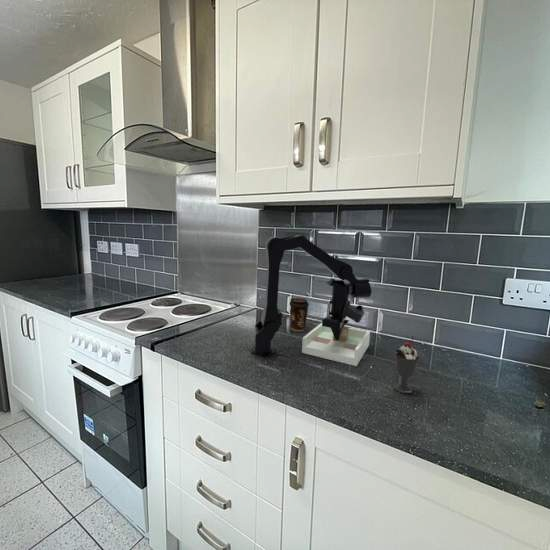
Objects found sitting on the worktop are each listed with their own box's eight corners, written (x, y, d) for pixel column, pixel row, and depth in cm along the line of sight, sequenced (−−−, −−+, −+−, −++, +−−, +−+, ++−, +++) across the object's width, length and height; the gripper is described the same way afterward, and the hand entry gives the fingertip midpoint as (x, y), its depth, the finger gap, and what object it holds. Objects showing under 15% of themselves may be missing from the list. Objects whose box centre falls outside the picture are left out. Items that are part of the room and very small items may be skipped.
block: (344, 342, 107) (345, 331, 107) (332, 340, 110) (333, 328, 109) (348, 338, 111) (348, 327, 111) (336, 336, 114) (337, 325, 113)
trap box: (356, 366, 95) (357, 349, 94) (301, 352, 104) (302, 337, 103) (368, 345, 112) (370, 331, 112) (321, 335, 121) (322, 322, 120)
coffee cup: (284, 326, 130) (285, 297, 128) (300, 324, 134) (302, 296, 132) (293, 333, 123) (295, 302, 121) (311, 330, 126) (312, 301, 124)
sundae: (415, 385, 84) (421, 335, 82) (417, 398, 78) (424, 344, 76) (390, 381, 86) (395, 331, 84) (390, 392, 80) (396, 340, 78)
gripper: (356, 307, 92) (353, 354, 95) (368, 296, 109) (365, 336, 111) (322, 301, 98) (320, 346, 100) (339, 292, 114) (336, 331, 116)
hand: (337, 340), depth 107 cm, fingers closed
